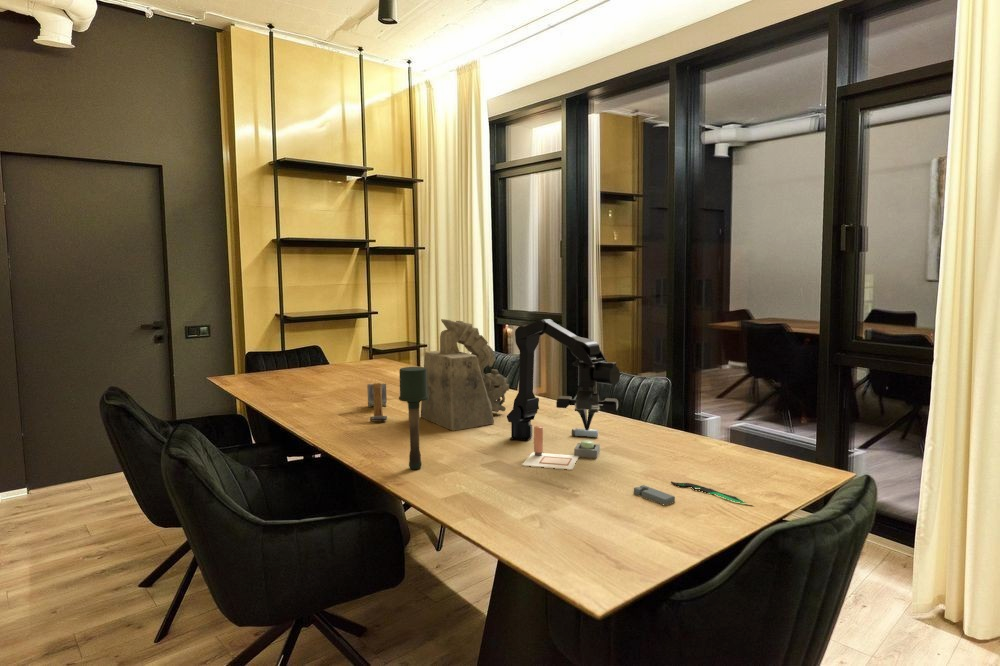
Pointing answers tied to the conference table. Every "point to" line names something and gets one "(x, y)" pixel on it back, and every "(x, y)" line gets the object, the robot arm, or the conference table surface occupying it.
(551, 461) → the sheet
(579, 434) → the grey cylinder
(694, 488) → the knife
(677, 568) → the conference table surface
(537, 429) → the salmon rounded cylinder
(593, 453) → the button housing
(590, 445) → the button
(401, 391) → the stick grenade
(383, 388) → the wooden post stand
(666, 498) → the bracket
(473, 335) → the sculpture
